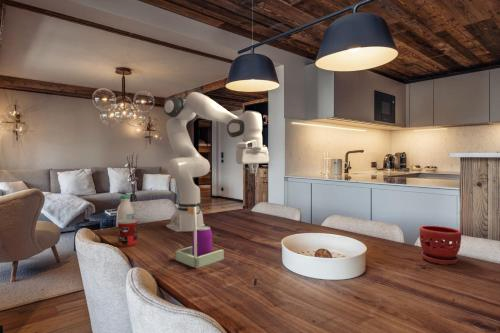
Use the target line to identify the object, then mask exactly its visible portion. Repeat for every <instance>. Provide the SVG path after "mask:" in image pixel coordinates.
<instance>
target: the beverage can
mask: <svg viewBox="0 0 500 333" xmlns="http://www.w3.org/2000/svg"><path fill="white" fill-rule="evenodd" d="M191 232H192V233H191V242H192V243H191V246H192V255H193V256H194V230H193V231H191ZM212 252H213V232H212V230H211V227H210V226H209V225H205V226H197V257H199V256H202V255H205V254H208V253H212Z"/></svg>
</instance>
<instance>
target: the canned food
mask: <svg viewBox="0 0 500 333" xmlns="http://www.w3.org/2000/svg"><path fill="white" fill-rule="evenodd" d="M117 237H118V238H117V242H118V243H117V244H118V246H119V247H120V248H128V247H129V248H130V247H134V246H136V245H137V244H138V221H137V219H136V218H134V219H124V220H120V221H118V220H117Z"/></svg>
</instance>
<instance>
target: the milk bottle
mask: <svg viewBox="0 0 500 333" xmlns="http://www.w3.org/2000/svg"><path fill="white" fill-rule="evenodd" d="M124 219H135V212H134V208H133V205H132V204H131V195H130V194H121V195H120V204H119V207H118V209H117V222H118V221H120V220H124Z"/></svg>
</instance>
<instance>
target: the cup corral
mask: <svg viewBox="0 0 500 333" xmlns="http://www.w3.org/2000/svg"><path fill="white" fill-rule="evenodd" d="M188 214H193V215H194V256H193V255H192V245H191V246H188V247H184V248H180V249H176V250H174V260H175V261H177V262H180V263H182V264H184V265H187V266H190V267H192V268H194V269H199V268H202V267H205V266H208V265H211V264H214V263H217V262H220V261H222V260H224V259H225V250H224V249H219V250H214V251H212V253H208V254H205V255H202V256H199V257H197V222H196V207H188Z"/></svg>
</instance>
